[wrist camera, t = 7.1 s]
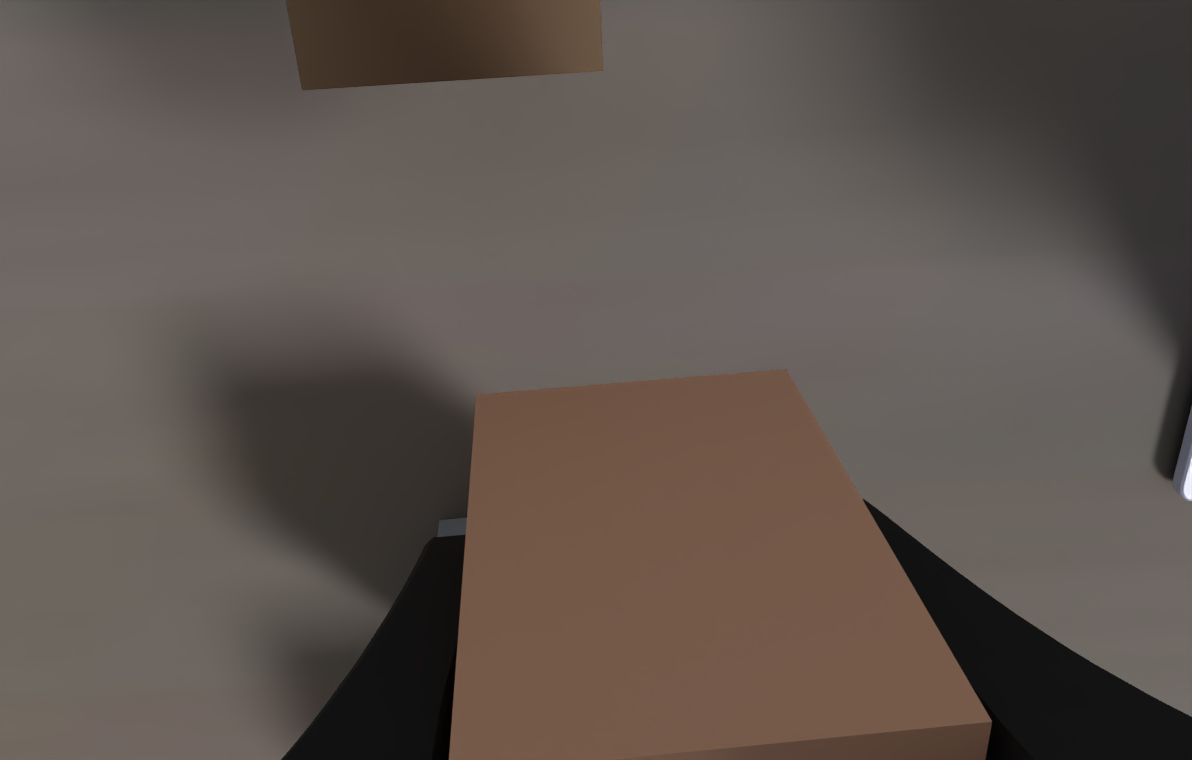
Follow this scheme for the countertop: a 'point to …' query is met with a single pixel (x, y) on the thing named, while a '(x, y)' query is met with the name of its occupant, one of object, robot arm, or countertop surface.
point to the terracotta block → (688, 588)
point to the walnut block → (441, 40)
